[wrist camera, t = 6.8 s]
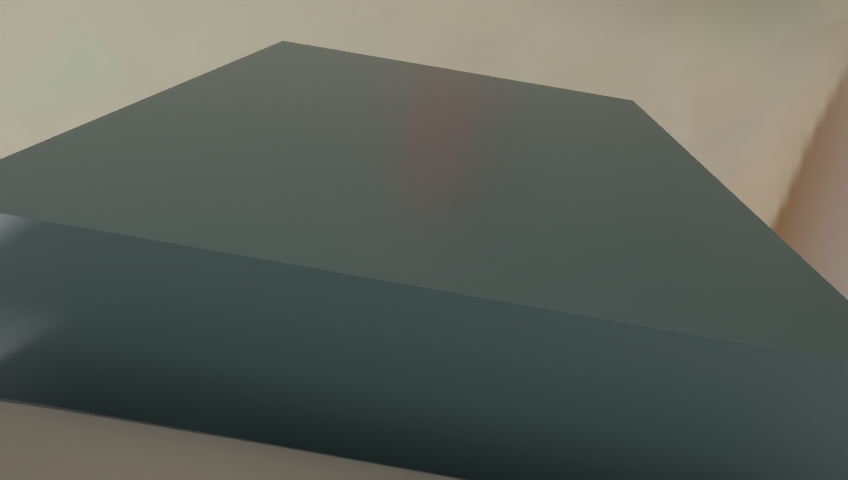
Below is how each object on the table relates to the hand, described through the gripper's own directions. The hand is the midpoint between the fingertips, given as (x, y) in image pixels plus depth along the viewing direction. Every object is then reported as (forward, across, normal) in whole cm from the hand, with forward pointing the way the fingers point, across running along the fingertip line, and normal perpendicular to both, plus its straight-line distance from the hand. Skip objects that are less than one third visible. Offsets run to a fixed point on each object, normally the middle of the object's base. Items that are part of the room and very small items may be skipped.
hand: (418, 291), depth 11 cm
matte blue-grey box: (+3, 0, 0) cm, 3 cm away
